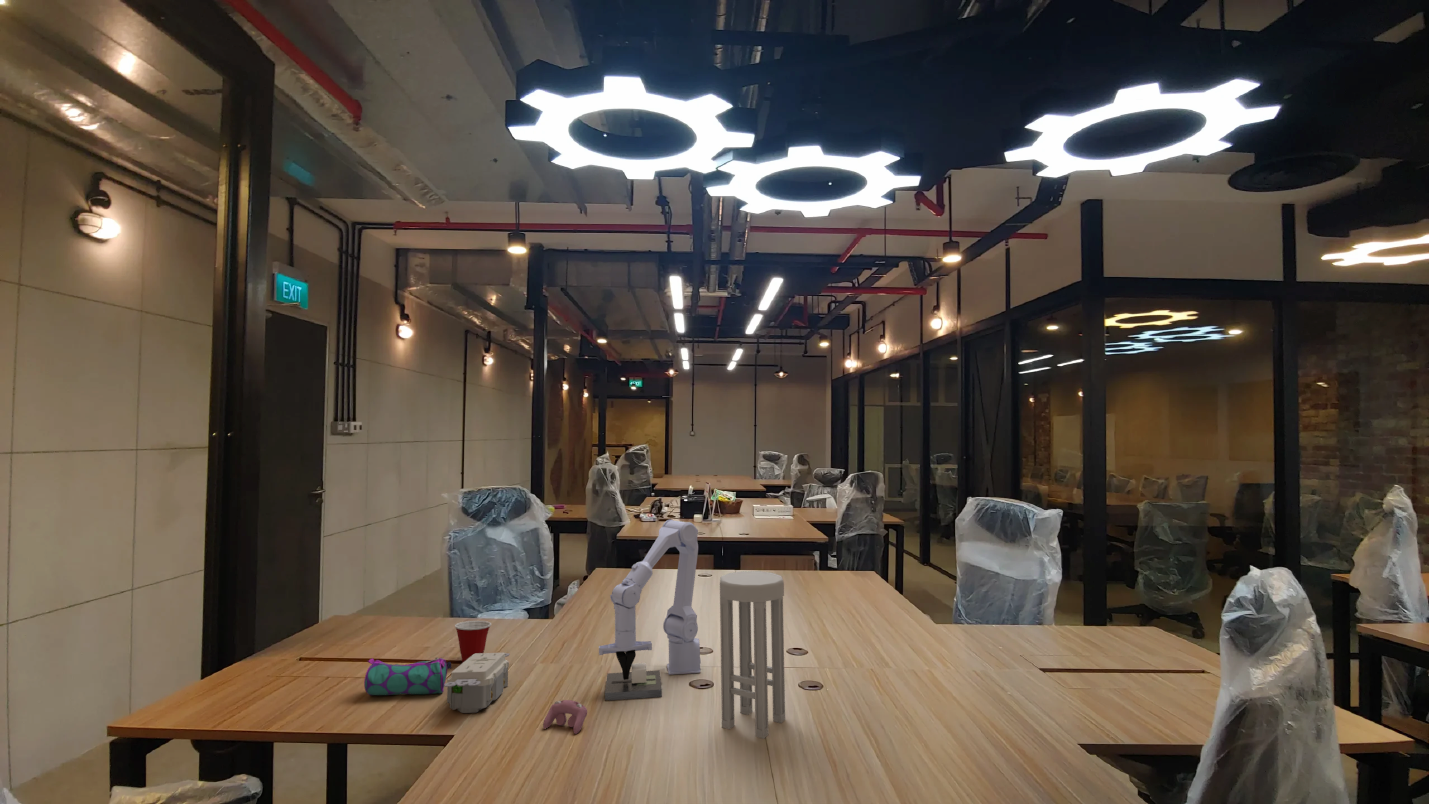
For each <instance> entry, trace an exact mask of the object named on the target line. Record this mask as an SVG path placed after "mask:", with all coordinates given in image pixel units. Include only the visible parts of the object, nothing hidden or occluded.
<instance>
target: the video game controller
mask: <svg viewBox="0 0 1429 804" xmlns="http://www.w3.org/2000/svg"><path fill="white" fill-rule="evenodd" d="M566 714H569V715H570V717H569V718H568V719H567V715H566ZM587 716H588V708H587V707H586V706H585V705H583V704H582V703H580V702H579V701H576V700H571V699H564V700H563V699H562V700H557V701H554V703H553V704H552V705H551V706H550V707H549V709H548V712H547V714H546V715H545V718H544V720H543V722H542V723H543V724H542V727H543V729H544V730H546V729H545V728H547V729H549V728H548V727H550V726H551V725H552V724H553V723H554V721H556V724H557V725H558V726H565V725H566V724H567V725H568V727H570V728H572V729H573V733H574V734H575V735H577V734H578V733H580V731H581V729H582V728H583V726H584V722H585V719H586V718H587Z"/></svg>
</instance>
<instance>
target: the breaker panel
mask: <svg viewBox="0 0 1429 804" xmlns="http://www.w3.org/2000/svg"><path fill="white" fill-rule="evenodd" d="M606 674H607V675H606V682H605V690H604V701H605V700H609V701H621V700H623V699H625V700H636V699H637V700H638V699H651V698H662V695H663V688H662V680H661V670H646V682H644V683H632V671H630V673H629V679H627V680H624V679H623V672H622V671H621V672H608V673H606ZM623 701H624V700H623Z"/></svg>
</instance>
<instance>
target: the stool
mask: <svg viewBox="0 0 1429 804" xmlns="http://www.w3.org/2000/svg"><path fill="white" fill-rule="evenodd" d="M784 596H785V582H784V579H783V576H782V575H780V574H777V573H774V572H770V571H769V572H767V571H761V570H751V571H750V570H749V571H747V570H742V571H736V572H729V573H726V574H723V575H721V576H720V579H719V613H720V614H719V618H720V619H719V622H720V630H719V631H720V684H721V685H720V686H721V687H720V688H721V689H720V690H721V692H720V693H721V695H720V697H721V728H722V729H727V730H730V729H732V728H733V727H735V726H736V725H735V695H736V696H739V698H740V699H739V705H740V706H739V707H740V714H743V715H747V716H749V715H750V714H752V712H753V700H754V718H755V719H754V723H755V724H754V726H755V727H754V728H755V729H754V730H755V735H754V736H755V737H756V738H760V739H763V740H764V739H765V738H766V737H767V736H768V735H769V697H768V696H769V693H768V692H769V691H768V689H769V688H768V687H771V689H772V721H773V722H775V723H777V724H782V723H783V722H785V721H786V695H785V694H786V692H785V691H786V689H785V688H786V687H785V685H786V684H785V640H784V639H785V638H784V636H785V635H784V634H785V633H784V632H785V631H784ZM733 602H738V629H739V630H738V635H739V636H738V637H739V638H738V640H739V642H738V643H739V645H738V646H739V649H738V650H739V675H738V674H735V669H734V668H735V665H734V664H735V663H734V610H733V609H734V605H733ZM767 602H770V620H771V621H770V625H771V627H770V630H771V632H770V634H771V636H770V637H771V666H769V665H768V642H767V639H768V633H767V629H768V628H767ZM751 603H753V604H752V606H753V611H752V610H751V609H752V607H751ZM751 612H753V614H752V613H751ZM752 615H753V656H754V657H753V658H754V659H753V662H752ZM753 670H754V673H753ZM753 674H754V675H753ZM768 674H771V679H770V678H768ZM735 682H736V683H739V688H738V687H735ZM753 687H754V691H753Z"/></svg>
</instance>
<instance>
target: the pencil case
mask: <svg viewBox="0 0 1429 804" xmlns="http://www.w3.org/2000/svg"><path fill="white" fill-rule="evenodd" d="M367 663H369V664H370V665H369V667H368V668H367V670H366V673H365V676H364V681H363V684H364V690H365V692H366V694H367V695H369V696H392V695H393V696H394V695H396V696H397V695H433V694H442V693H444V688H445V687H444V685H445V684H446V682H447V681H446V680H447V674H448V670H449V669H452V663H451V661H448V662H447V661H446V659H444V658H442V657H440V658H439V657H435V658H434V659H431V660H426V661H425V660H422V661H417V662H413V663H408V664H398V663H396V664H389V663H386V662H383V661H381V660H379V659H376V660H375V659H374V658H370V659H369V660H367Z"/></svg>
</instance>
